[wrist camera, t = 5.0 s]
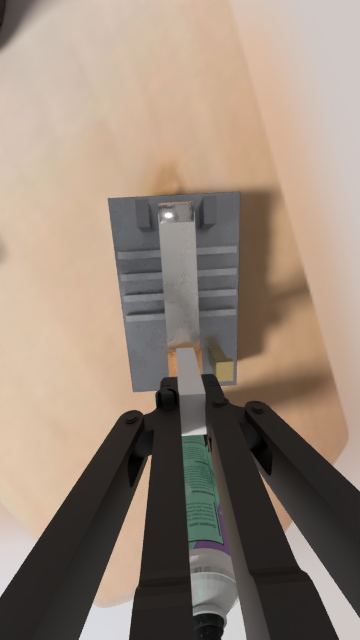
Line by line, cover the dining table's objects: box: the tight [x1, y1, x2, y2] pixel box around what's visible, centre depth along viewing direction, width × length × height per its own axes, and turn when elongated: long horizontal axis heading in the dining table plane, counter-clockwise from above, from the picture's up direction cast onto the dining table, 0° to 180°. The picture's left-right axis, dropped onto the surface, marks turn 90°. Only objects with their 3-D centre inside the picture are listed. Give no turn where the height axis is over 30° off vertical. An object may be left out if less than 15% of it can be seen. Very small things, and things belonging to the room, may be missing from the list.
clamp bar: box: [158, 201, 203, 377], centre depth 19 cm, size 17×3×3 cm, turn 3°
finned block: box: [108, 192, 240, 392], centre depth 22 cm, size 20×12×9 cm, turn 3°
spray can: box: [182, 429, 239, 640], centre depth 22 cm, size 6×6×20 cm
